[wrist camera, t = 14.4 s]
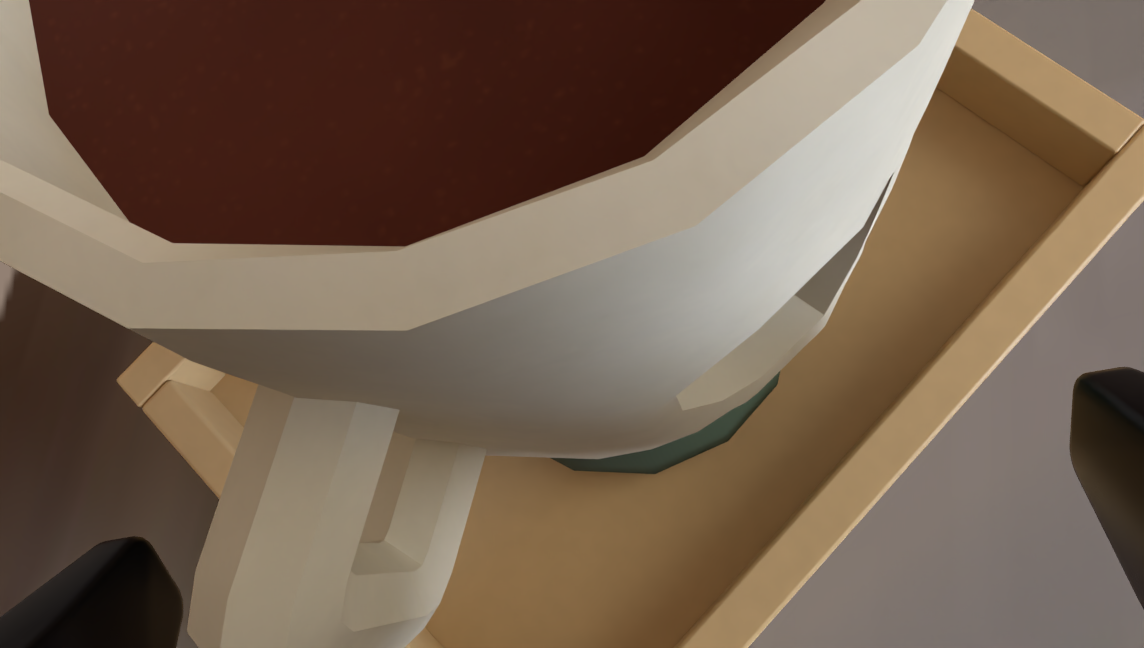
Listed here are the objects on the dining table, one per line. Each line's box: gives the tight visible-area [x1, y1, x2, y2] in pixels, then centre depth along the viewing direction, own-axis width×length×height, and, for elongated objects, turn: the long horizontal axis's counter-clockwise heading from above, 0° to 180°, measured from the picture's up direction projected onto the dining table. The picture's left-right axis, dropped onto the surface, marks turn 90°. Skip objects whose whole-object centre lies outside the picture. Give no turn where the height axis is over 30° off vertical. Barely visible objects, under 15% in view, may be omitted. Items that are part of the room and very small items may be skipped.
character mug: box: [0, 0, 975, 648], centre depth 11 cm, size 11×7×13 cm, turn 165°
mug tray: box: [117, 9, 1144, 648], centre depth 17 cm, size 12×16×2 cm
